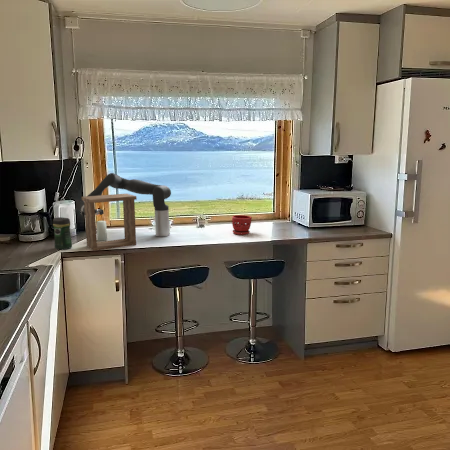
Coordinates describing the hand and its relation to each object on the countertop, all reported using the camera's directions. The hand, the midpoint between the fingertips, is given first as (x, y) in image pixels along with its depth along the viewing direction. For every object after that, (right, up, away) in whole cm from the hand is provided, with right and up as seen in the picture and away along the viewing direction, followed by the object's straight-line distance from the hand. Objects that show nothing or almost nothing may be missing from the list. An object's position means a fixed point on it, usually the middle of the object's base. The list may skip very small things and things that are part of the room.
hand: (95, 213), depth 284 cm
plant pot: (+97, -13, +12) cm, 98 cm away
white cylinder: (+6, -17, -6) cm, 19 cm away
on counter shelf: (+16, -20, -21) cm, 33 cm away
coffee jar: (-11, -21, -28) cm, 36 cm away
